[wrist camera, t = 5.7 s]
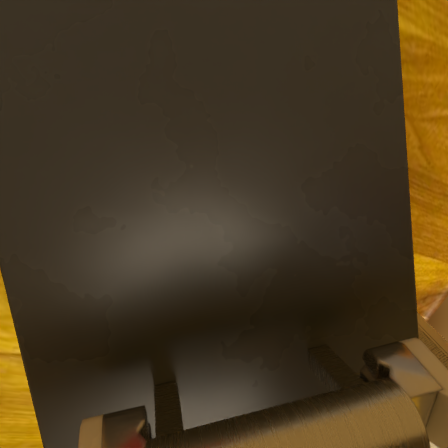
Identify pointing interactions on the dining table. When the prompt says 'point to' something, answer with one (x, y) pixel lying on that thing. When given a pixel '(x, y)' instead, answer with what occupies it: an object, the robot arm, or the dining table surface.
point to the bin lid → (208, 218)
